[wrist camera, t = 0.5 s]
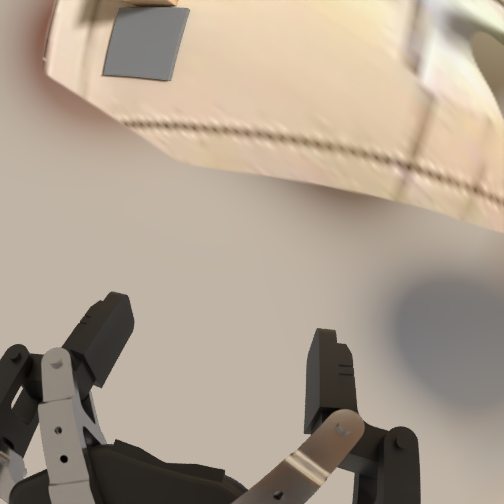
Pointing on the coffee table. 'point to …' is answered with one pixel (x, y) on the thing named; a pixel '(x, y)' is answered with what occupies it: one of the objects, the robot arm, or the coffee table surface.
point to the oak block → (153, 2)
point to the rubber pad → (146, 42)
